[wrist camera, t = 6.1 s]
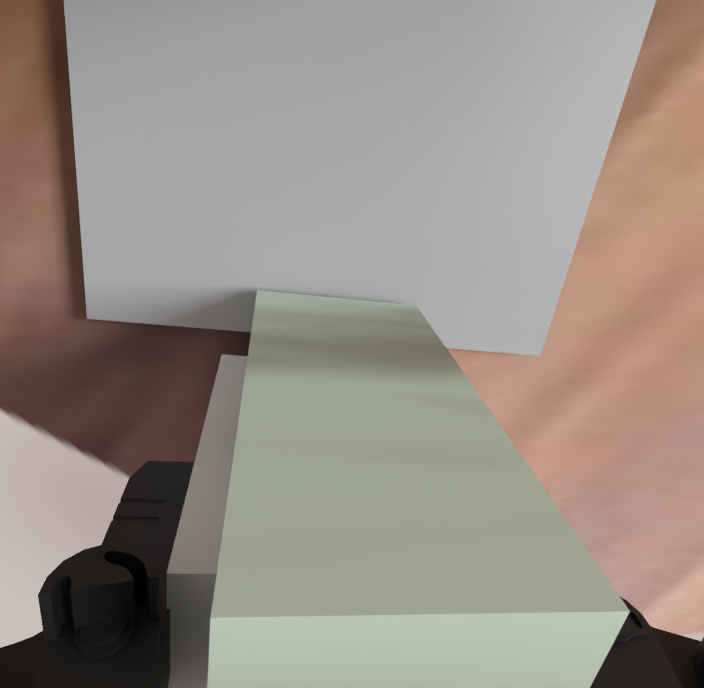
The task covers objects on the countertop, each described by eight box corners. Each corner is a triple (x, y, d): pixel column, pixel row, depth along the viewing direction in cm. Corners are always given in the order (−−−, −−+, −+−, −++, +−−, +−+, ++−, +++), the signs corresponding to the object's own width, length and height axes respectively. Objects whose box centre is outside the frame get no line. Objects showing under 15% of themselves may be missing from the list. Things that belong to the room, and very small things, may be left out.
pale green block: (257, 290, 12) (209, 617, 4) (416, 305, 13) (629, 611, 5) (243, 486, 14) (196, 930, 7) (377, 491, 15) (480, 897, 7)
